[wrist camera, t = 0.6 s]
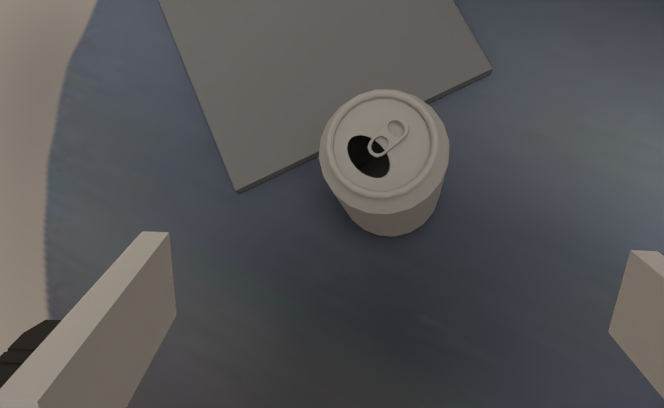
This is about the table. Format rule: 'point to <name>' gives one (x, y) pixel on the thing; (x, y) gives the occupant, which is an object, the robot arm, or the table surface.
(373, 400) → the table surface
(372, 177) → the can
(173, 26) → the stop plate
